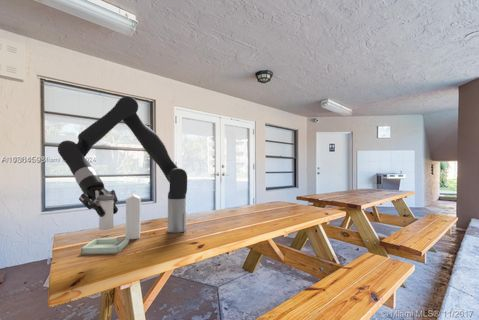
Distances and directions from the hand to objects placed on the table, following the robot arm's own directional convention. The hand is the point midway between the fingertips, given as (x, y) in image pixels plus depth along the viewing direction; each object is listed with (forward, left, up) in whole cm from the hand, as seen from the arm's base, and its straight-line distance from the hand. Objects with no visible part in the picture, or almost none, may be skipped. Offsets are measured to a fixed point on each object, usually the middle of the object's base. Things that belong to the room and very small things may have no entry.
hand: (109, 213), depth 92 cm
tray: (+6, -11, -17) cm, 21 cm away
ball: (+2, -14, -15) cm, 20 cm away
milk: (0, -26, -17) cm, 31 cm away
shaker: (+2, -1, -6) cm, 6 cm away
